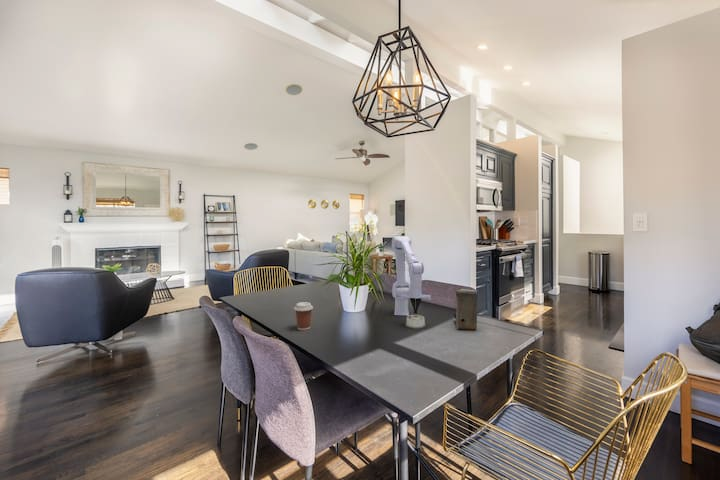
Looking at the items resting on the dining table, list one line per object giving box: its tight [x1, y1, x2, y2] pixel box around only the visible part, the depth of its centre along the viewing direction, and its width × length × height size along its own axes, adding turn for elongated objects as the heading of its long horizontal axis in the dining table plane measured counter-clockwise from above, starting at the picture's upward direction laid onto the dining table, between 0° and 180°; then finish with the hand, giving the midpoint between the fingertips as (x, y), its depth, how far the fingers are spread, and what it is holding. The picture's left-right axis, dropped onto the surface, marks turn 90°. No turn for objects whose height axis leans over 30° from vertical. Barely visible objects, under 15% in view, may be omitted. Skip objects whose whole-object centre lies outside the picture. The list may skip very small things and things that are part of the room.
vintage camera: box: [452, 288, 478, 331], centre depth 166 cm, size 10×16×20 cm, turn 174°
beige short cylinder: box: [411, 314, 422, 319], centre depth 166 cm, size 5×5×4 cm
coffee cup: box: [293, 301, 314, 331], centre depth 163 cm, size 9×9×12 cm
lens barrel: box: [405, 314, 427, 330], centre depth 166 cm, size 10×10×4 cm
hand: (415, 313), depth 166 cm, fingers closed
